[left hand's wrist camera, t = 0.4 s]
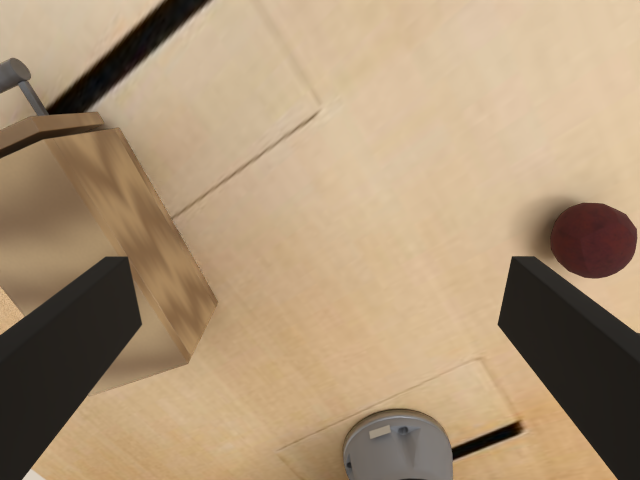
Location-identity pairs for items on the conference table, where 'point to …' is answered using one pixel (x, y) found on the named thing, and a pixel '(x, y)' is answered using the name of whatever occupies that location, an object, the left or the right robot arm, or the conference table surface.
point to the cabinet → (100, 244)
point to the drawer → (42, 125)
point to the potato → (593, 240)
